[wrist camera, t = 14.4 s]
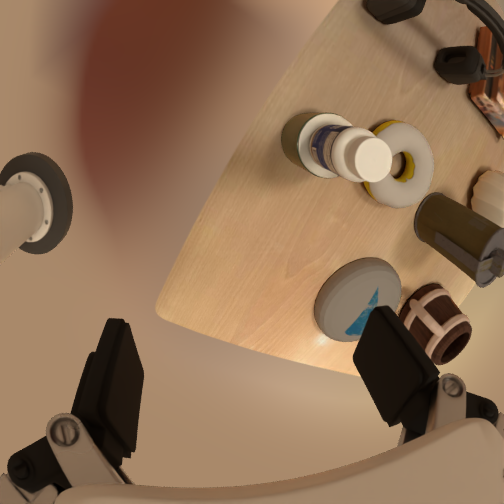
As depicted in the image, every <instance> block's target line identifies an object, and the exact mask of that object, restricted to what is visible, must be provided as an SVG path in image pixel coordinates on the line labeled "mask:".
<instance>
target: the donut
mask: <svg viewBox="0 0 504 504" xmlns="http://www.w3.org/2000/svg"><path fill="white" fill-rule="evenodd" d="M372 133H373V134H374V135H375V136H376V137H377V138H379V139H381V140H383V141H384V142H385V143H386V144H387V145H388V146H389V148H390V150H391V154H392V157H393V156H394V155H395V154H397V153H399V152H403V153H404V155H405V157H406V168H405V171H404V173H403V174H402V176H401V177H399V178H398V179H394V178H393V177H392V175H391V174H390V171H389V173H388V174H387V176H386V177H385V178H384V179H382V180H380V181H378V182H367V181H363V183H364V185H365V188H366V189H367V191H368V193H369V194H370V195H371V197H372V198H373V199H375V200H376V201H377V202H378V203H381V204H384V205H387V206H389V207H392V208H405V207H408V206H411V205H414V204H416V203H417V202H419V201H420V200H421V199H423V197H424V196H425V195H426V193H427V192H428V189H429V187H430V184H431V181H432V177H433V172H434V158H433V154H432V151H431V148H430V146H429V144H428V142H427V140H426V138H425V137H424V136H423V134H422V133H421V132H420V131H419V130H418V129H416V128H415V127H414V126H412V125H410V124H407V123H405V122H401V121H396V120H392V121H388V122H385V123H383V124H381V125H380V126H378V127H377V128H376V129H375V130H374V131H373V132H372Z"/></svg>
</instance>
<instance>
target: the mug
mask: <svg viewBox="0 0 504 504" xmlns="http://www.w3.org/2000/svg"><path fill="white" fill-rule="evenodd" d="M400 320H401V321H402V322H403V324H404V325H405V326H406V327H407V329H408V330H409V331H410V333H411V334H412V335H413V336H414V338H415V339H416V340H417V342H418V343H419V344H420V346H421V347H422V348H423V350H424V351H425V352H426V354H427V355H428V356H429V358H430V359H431V361H432V362H433V363H435V364H436V365H443V364H446V363H448V362H450V361H451V360H452V359H454V358H455V357H456V356H457V355H458V354H459V353H460V352H461V351H462V350H463V349H464V348H465V346H466V345H467V343H468V341H469V339H470V337H471V332H472V328H471V326H470V321H469V318H468V317H467V316H466V315H465V314H463V313H462V312H461V311H460V310H459V308H458V307H457V306H456V304H455V303H454V302H453V300H452V298H451V295H450V293H449V292H448V291H447V290H445V289H444V288H443V287H442V286H440V285H439V284H431V285H428V286H426V287H423V288H422V289H420V290H419V291H417V292H416V293H415V294H414V295H413V296H412V297H411V298H410V299H409V301H408V302H407V303H406V305H405V306H404V308H403V310H402V312H401V315H400Z"/></svg>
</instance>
